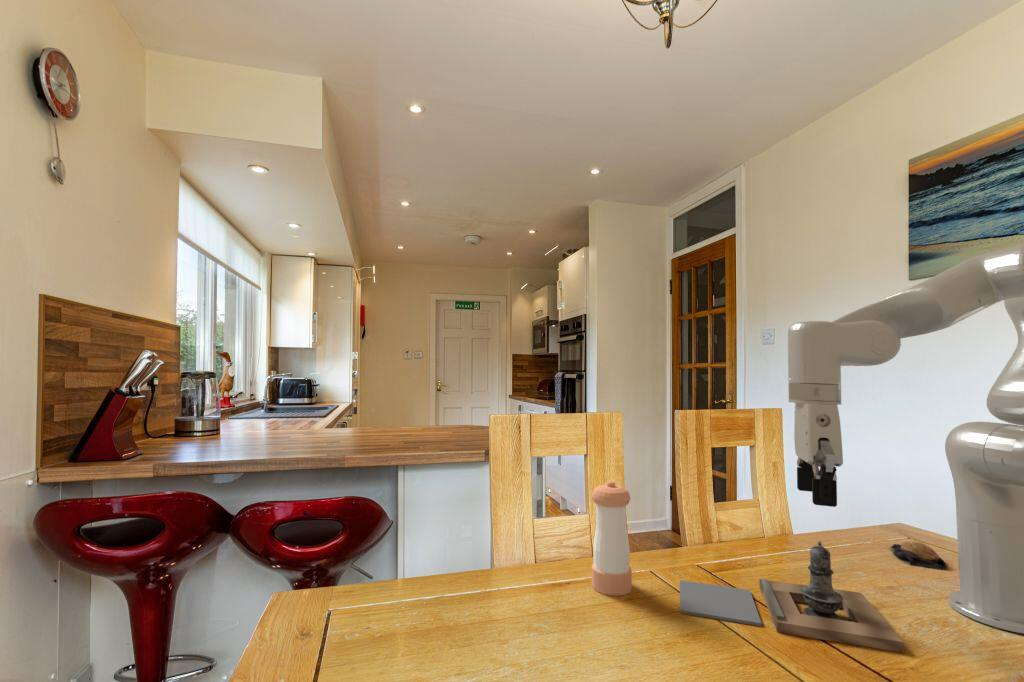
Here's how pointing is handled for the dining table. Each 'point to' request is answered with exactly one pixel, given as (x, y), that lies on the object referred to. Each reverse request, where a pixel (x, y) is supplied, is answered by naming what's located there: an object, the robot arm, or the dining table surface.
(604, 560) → the pepper shaker
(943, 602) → the dining table surface
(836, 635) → the brown wooden square frame
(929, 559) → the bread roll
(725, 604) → the slate mat
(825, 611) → the salt shaker
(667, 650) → the dining table surface
